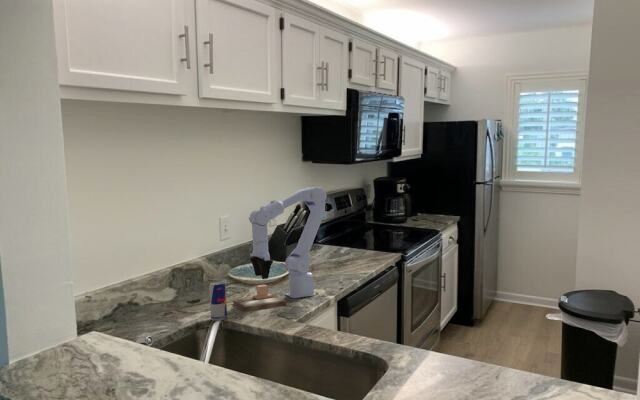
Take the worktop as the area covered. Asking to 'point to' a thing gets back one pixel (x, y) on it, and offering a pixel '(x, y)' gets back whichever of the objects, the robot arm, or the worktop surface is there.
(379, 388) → the worktop surface
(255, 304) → the board
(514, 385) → the worktop surface
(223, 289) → the energy drink
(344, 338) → the worktop surface
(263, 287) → the peach plate with block
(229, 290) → the worktop surface
